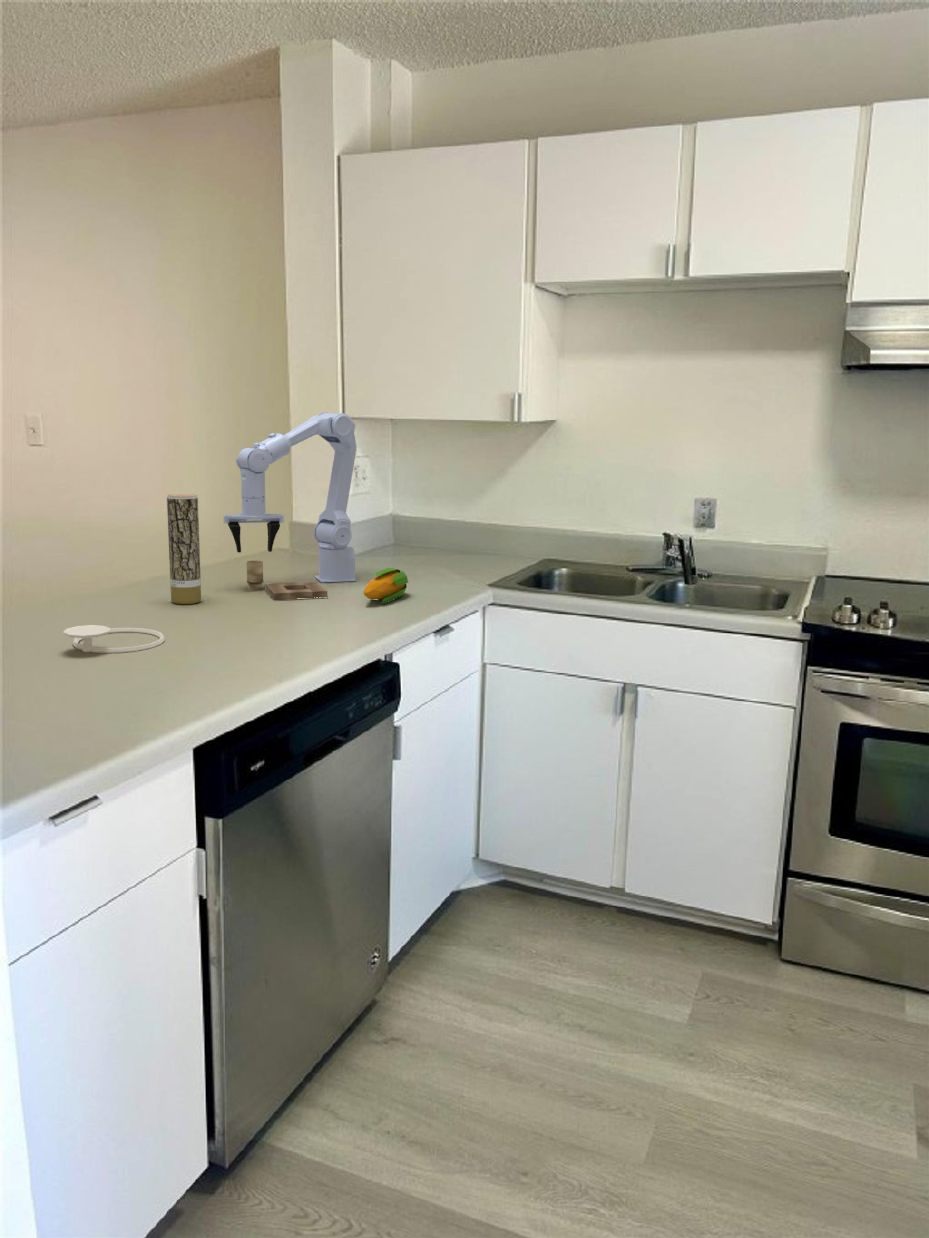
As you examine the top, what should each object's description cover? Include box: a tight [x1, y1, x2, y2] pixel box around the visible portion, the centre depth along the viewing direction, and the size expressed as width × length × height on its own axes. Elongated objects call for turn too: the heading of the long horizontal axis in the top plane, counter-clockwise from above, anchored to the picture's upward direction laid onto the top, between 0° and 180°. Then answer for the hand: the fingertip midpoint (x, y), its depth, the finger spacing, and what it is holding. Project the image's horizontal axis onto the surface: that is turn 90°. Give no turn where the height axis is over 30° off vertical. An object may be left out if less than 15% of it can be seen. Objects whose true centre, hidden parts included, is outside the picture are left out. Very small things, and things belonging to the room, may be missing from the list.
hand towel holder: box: [63, 624, 166, 654], centre depth 177 cm, size 17×4×21 cm
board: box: [264, 581, 328, 601], centre depth 227 cm, size 13×12×2 cm
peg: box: [246, 560, 264, 591], centre depth 232 cm, size 4×4×7 cm
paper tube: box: [166, 493, 202, 605], centre depth 212 cm, size 7×7×25 cm
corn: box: [362, 567, 409, 604], centre depth 224 cm, size 7×8×20 cm
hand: (254, 551), depth 230 cm, fingers open, 7 cm apart
